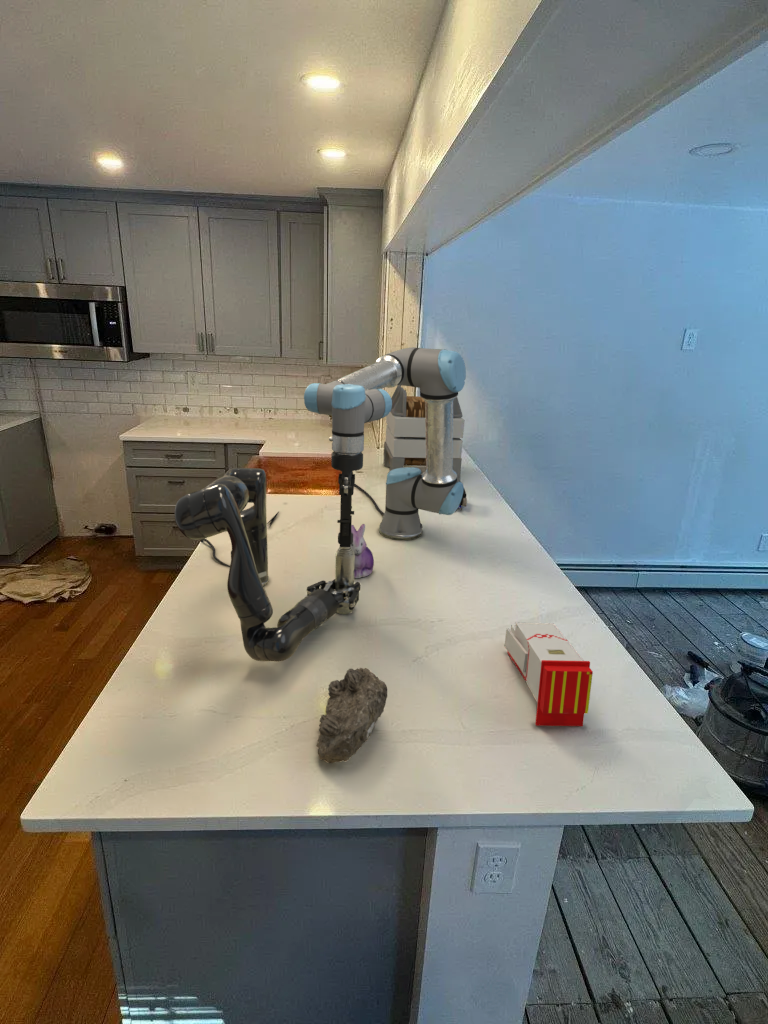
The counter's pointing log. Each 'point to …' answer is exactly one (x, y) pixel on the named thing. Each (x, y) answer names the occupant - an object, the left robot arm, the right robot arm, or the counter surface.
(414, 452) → the grey wooden crate
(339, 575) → the bottle
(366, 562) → the figurine
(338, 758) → the fossil
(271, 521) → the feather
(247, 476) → the left robot arm
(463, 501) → the figurine character
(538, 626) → the toy
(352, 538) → the cap
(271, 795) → the counter surface
